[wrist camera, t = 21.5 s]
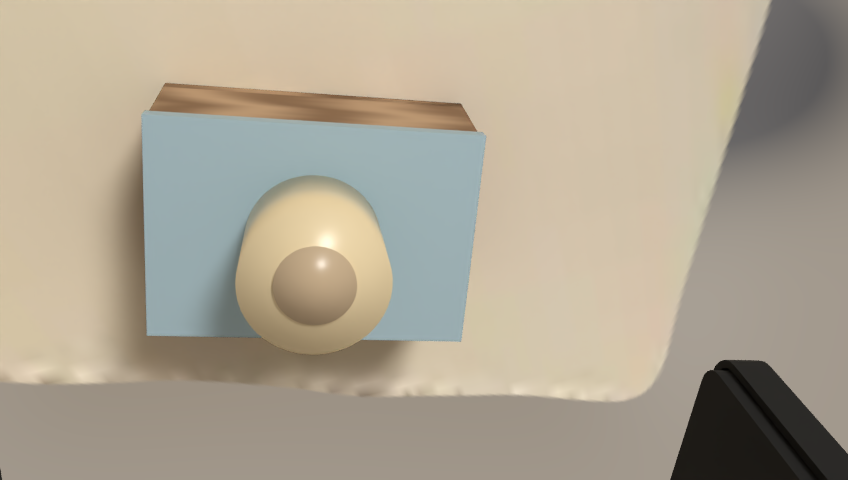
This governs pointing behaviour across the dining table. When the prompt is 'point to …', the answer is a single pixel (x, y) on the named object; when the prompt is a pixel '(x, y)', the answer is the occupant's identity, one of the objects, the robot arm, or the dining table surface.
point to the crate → (311, 107)
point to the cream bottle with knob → (313, 266)
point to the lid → (288, 158)
